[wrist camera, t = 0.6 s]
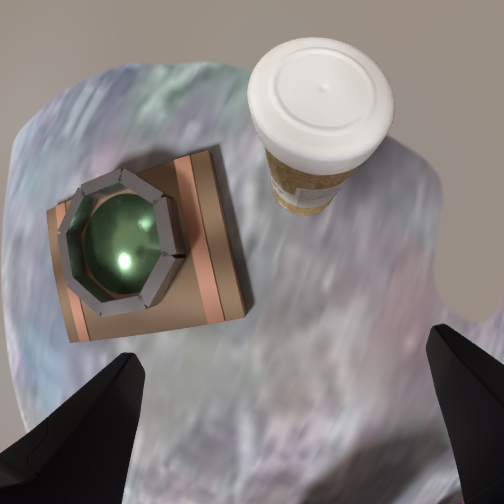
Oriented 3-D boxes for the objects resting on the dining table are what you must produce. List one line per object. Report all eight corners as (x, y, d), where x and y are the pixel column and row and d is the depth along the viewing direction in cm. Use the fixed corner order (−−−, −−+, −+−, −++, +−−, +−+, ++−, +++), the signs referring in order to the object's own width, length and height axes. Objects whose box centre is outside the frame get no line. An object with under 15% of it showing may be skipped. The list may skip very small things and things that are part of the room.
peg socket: (196, 297, 21) (187, 301, 19) (87, 317, 22) (73, 321, 20) (169, 161, 21) (158, 153, 19) (68, 200, 22) (53, 197, 20)
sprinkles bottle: (266, 161, 21) (233, 43, 8) (328, 150, 21) (369, 28, 7) (278, 222, 21) (261, 171, 8) (342, 211, 21) (418, 148, 7)
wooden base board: (246, 314, 21) (244, 317, 20) (76, 340, 23) (69, 342, 22) (211, 154, 22) (207, 149, 21) (53, 212, 24) (45, 210, 22)
